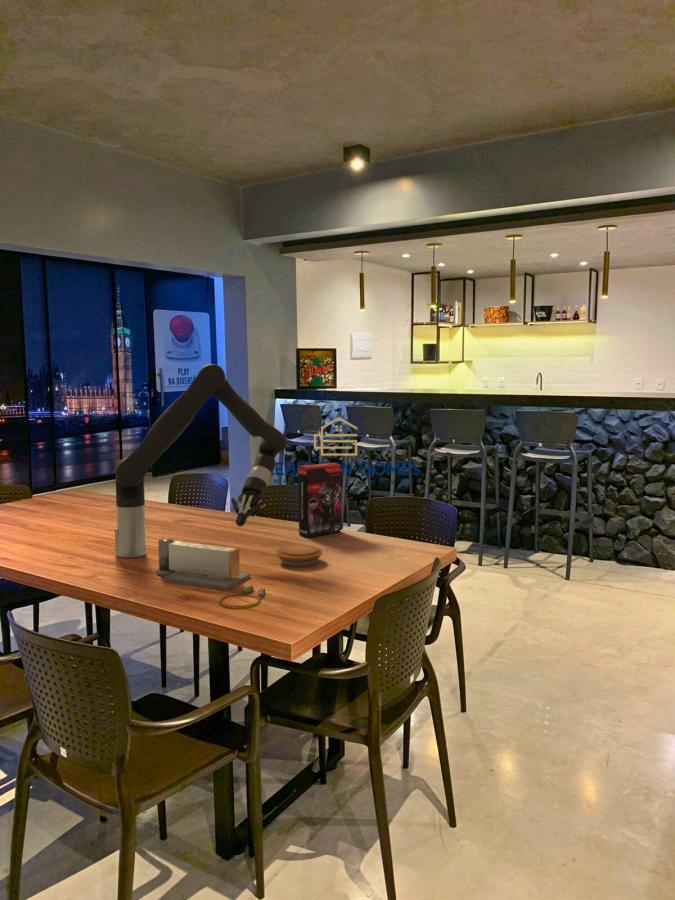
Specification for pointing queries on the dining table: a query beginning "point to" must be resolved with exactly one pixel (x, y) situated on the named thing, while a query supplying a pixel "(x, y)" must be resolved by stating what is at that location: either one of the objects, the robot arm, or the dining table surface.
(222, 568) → the grey rectangular block
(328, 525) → the graphics card box
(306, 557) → the pie
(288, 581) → the dining table surface
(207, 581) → the panel
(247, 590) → the extension cord
